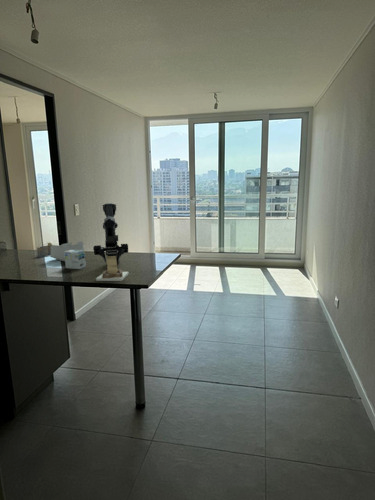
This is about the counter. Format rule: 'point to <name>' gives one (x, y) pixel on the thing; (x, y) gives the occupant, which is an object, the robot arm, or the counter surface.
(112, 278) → the base board
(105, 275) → the socket frame
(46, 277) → the counter surface
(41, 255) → the ruin model on sheet
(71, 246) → the grey angular block
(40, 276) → the counter surface
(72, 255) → the light bulb box
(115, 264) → the maple pillar
